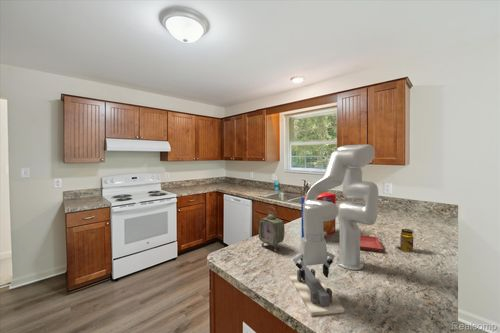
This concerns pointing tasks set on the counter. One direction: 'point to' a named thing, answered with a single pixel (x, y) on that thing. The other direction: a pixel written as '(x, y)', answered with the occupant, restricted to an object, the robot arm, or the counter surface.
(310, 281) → the bar
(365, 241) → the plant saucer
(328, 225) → the pasta box
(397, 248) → the condiment
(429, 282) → the counter surface
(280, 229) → the tabletop clock
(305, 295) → the clip board
